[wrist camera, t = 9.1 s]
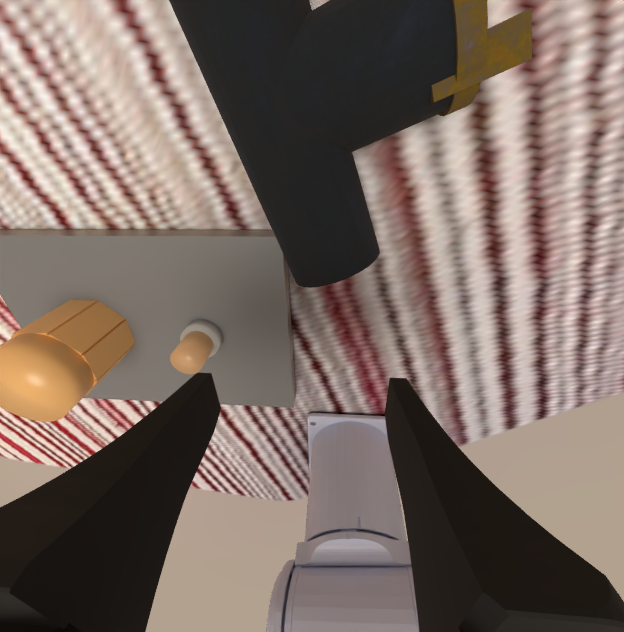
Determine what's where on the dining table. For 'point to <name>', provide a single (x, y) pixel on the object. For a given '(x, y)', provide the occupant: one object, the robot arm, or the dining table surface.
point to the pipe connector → (337, 101)
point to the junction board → (167, 304)
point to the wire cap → (61, 359)
